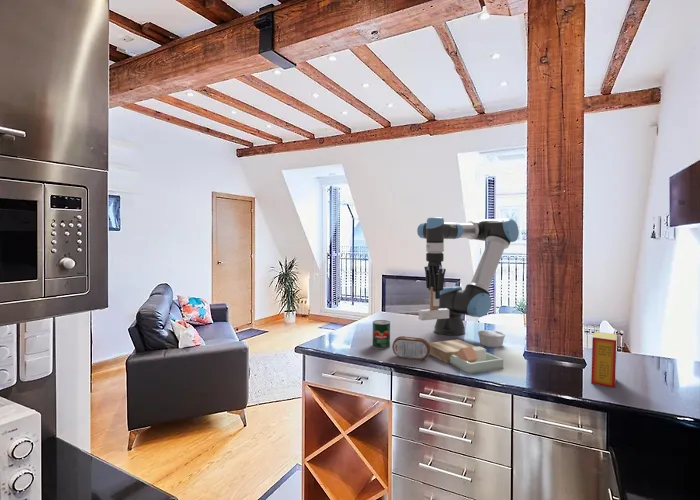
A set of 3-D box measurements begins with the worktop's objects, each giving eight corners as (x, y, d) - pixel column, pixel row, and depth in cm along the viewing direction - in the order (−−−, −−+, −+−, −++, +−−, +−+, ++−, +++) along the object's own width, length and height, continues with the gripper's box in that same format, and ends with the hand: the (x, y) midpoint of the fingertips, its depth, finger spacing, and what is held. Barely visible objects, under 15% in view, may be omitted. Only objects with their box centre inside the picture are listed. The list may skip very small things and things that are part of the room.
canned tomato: (377, 349, 168) (377, 324, 167) (369, 344, 175) (369, 320, 174) (393, 347, 170) (393, 323, 170) (385, 343, 178) (385, 319, 177)
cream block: (479, 346, 153) (486, 349, 149) (478, 358, 153) (485, 361, 149) (468, 347, 151) (475, 350, 147) (468, 360, 151) (475, 363, 148)
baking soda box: (593, 375, 138) (594, 330, 137) (615, 379, 134) (616, 333, 133) (591, 383, 130) (592, 336, 129) (614, 388, 126) (616, 339, 126)
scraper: (445, 316, 176) (445, 286, 176) (449, 318, 174) (449, 287, 173) (418, 319, 171) (419, 287, 171) (422, 320, 168) (422, 288, 168)
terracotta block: (466, 351, 150) (471, 346, 148) (472, 363, 147) (478, 358, 145) (456, 353, 148) (461, 347, 145) (462, 365, 145) (468, 360, 142)
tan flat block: (458, 348, 169) (458, 339, 169) (479, 358, 156) (479, 348, 156) (426, 352, 164) (426, 343, 164) (446, 362, 151) (446, 352, 150)
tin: (430, 359, 155) (430, 338, 155) (429, 361, 152) (429, 340, 152) (393, 355, 160) (393, 334, 160) (391, 357, 157) (391, 336, 157)
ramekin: (509, 347, 172) (510, 335, 172) (488, 349, 169) (488, 337, 169) (493, 340, 183) (493, 329, 183) (473, 342, 180) (473, 331, 179)
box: (481, 358, 155) (481, 350, 155) (503, 368, 144) (503, 359, 144) (450, 363, 150) (450, 354, 150) (470, 373, 139) (470, 364, 139)
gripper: (418, 251, 177) (418, 303, 178) (437, 253, 163) (437, 309, 164) (432, 251, 180) (432, 302, 181) (452, 253, 166) (451, 307, 167)
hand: (434, 305), depth 172 cm, fingers closed on scraper, 2 cm apart
